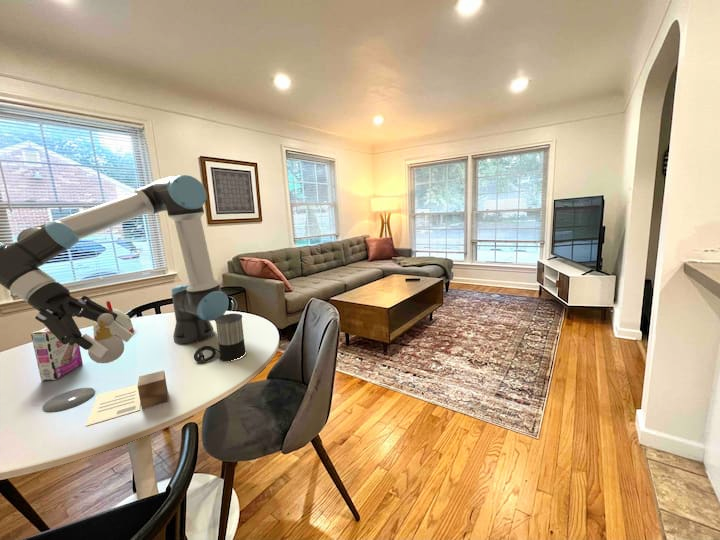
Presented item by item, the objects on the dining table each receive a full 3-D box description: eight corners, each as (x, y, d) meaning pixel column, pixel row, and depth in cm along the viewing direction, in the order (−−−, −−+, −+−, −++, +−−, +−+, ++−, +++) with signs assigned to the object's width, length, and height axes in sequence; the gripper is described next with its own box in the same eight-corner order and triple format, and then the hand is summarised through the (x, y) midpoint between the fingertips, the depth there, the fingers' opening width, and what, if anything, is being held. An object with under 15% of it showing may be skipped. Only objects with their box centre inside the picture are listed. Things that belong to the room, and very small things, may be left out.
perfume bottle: (94, 371, 79) (84, 326, 76) (86, 359, 85) (76, 317, 82) (130, 359, 84) (122, 317, 82) (119, 349, 90) (111, 310, 88)
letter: (143, 383, 96) (143, 383, 96) (139, 410, 83) (139, 409, 83) (97, 395, 91) (97, 394, 91) (85, 426, 77) (85, 425, 77)
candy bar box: (57, 380, 100) (46, 332, 97) (40, 381, 100) (28, 333, 97) (84, 363, 111) (75, 320, 108) (69, 364, 111) (59, 321, 108)
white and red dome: (130, 326, 149) (124, 295, 146) (136, 333, 139) (131, 301, 136) (92, 335, 139) (85, 302, 136) (96, 343, 129) (89, 308, 127)
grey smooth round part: (98, 384, 96) (97, 383, 96) (90, 402, 87) (90, 401, 87) (49, 396, 91) (49, 395, 91) (36, 417, 82) (36, 415, 82)
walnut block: (167, 392, 91) (164, 370, 90) (168, 402, 86) (164, 379, 85) (143, 399, 88) (139, 376, 87) (141, 410, 83) (137, 386, 82)
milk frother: (251, 355, 113) (247, 316, 110) (206, 372, 102) (200, 329, 99) (233, 345, 123) (229, 309, 120) (190, 359, 112) (185, 320, 109)
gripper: (69, 291, 91) (135, 339, 95) (-14, 316, 70) (75, 376, 74) (85, 272, 90) (150, 321, 94) (5, 292, 69) (95, 354, 73)
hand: (117, 345), depth 84 cm, fingers closed on perfume bottle, 9 cm apart
